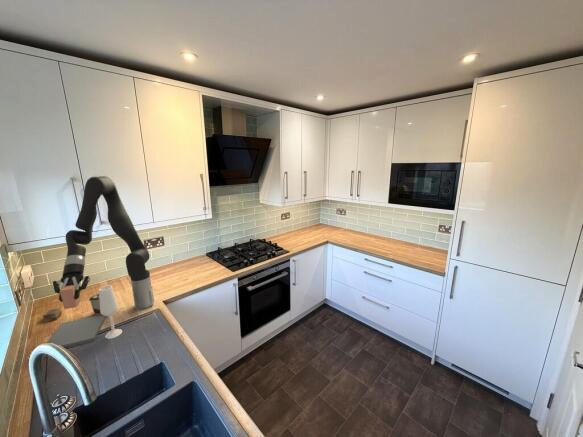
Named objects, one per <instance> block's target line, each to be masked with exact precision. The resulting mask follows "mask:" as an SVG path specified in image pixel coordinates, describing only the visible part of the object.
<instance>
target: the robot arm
mask: <svg viewBox="0 0 583 437" xmlns="http://www.w3.org/2000/svg"><path fill="white" fill-rule="evenodd" d="M84 186H85V187H84V190H83V192H84V193H83V197H82V203H81V204H82V205H81V209H80V211H79V213H78V217H77V219H76V221H75V225H74V226H75V227H76V228H77V229H79V230H76V229H71V230H68V231H67V233H66V234H65V243H66V247H67V252H66V253H67V254H66V258H65V261H64V266H63V271H62V277H61V279H60V280H59V279H58V280H53V281H52V286H53V290H54V293H56V294H58V300H59V302H61V303H63V302H62V298H61V293H60V290H61V289H62V288H63V287H65V286H70V285H74V286H76V287H75V289H76V291H75V294H74V299H78V298H79V299H80V297H81V296H80V295H81V291H83V290H87V286H88V284H89V282H90V281H91V277H90V276H89V275H86V276H84V271H85V266H86V253H87V249H86V247H84V246H82V245H85V246H86V245H89V244H90V243H91V242H92V241H93V240H92V239H93V229H94V225H95V222H96V220H97V217H98V211H97V204H98V202H99V199H100V198H101V196H103V198H104V200H105V203H106V206H107V221H108V223H109V225H110V227H111V229H112V231H113V232H114V234H115V235H116V236H118V237H119V238H120V239H122V240H123V241H124V242H125V243H126V245H127V247H128V248H129V250H130V253H128V254H127V255H126V257H125V266H126V270H127V271H126V272H127V274H128V276H129V278H130V283H131V290H132V296H133V302H134V303H133V304H134V308H135V309H136V310H145V309H148V308H150V307H152V306H154V302H155V297H154V292H153V290H154V289H153V286H152V281H151V273H150V270H148V269H146V263H148V262H149V260H150V256H151V255H150V252H149V250H148V249H147V247H146V245H145V244H144V243H143V241H142V239H141V238H140V236H139V234H138V232H137V230H136V228H135V226H134V224H133V222H132V219H131V218H130V215H129V214H128V212H127V209H126V208H125V205H124V204H123V202H122V200H121V196H120V194H119V192H118V188H117V186H116V183H115V182H114V180H113V179H112V178H110V176H106V175H100V176H92V177H89V178H88V179H87V180H86V183H85V185H84ZM80 282H82V284H80ZM61 283H62V285H61ZM60 286H61V288H60Z"/></svg>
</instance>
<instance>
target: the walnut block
mask: <svg viewBox="0 0 583 437" xmlns="http://www.w3.org/2000/svg"><path fill="white" fill-rule="evenodd" d="M62 314H63V313H62V309H61V307H59V308H52V309H47V310H46V311H45V312H44V314H42V318H43V322H44V323H47V322H53V321H57V320H59V318H60V317H61V316H62Z"/></svg>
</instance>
